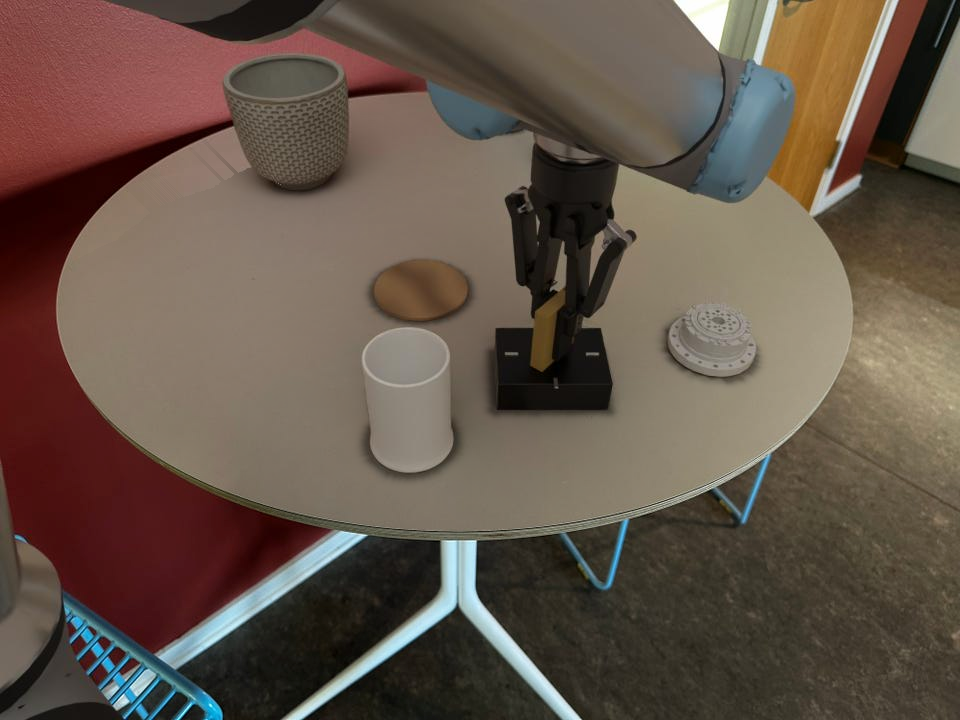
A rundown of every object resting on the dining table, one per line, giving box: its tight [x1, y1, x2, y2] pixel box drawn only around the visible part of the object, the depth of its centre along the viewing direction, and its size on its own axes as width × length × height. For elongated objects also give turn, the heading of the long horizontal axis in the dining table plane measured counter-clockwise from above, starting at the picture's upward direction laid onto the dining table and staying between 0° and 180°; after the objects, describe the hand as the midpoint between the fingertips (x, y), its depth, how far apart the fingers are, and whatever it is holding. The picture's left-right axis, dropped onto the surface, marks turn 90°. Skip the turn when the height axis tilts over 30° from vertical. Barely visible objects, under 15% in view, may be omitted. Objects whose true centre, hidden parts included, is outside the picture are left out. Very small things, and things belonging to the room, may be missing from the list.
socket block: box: [493, 327, 614, 411], centre depth 78 cm, size 12×10×4 cm
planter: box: [221, 52, 350, 192], centre depth 106 cm, size 17×17×16 cm
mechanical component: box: [666, 301, 757, 378], centre depth 83 cm, size 10×4×10 cm
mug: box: [361, 326, 455, 474], centre depth 70 cm, size 12×8×12 cm
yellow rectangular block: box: [530, 285, 574, 372], centre depth 74 cm, size 6×2×8 cm, turn 141°
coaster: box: [373, 259, 469, 322], centre depth 91 cm, size 12×12×1 cm
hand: (552, 348), depth 76 cm, fingers closed on yellow rectangular block, 2 cm apart
